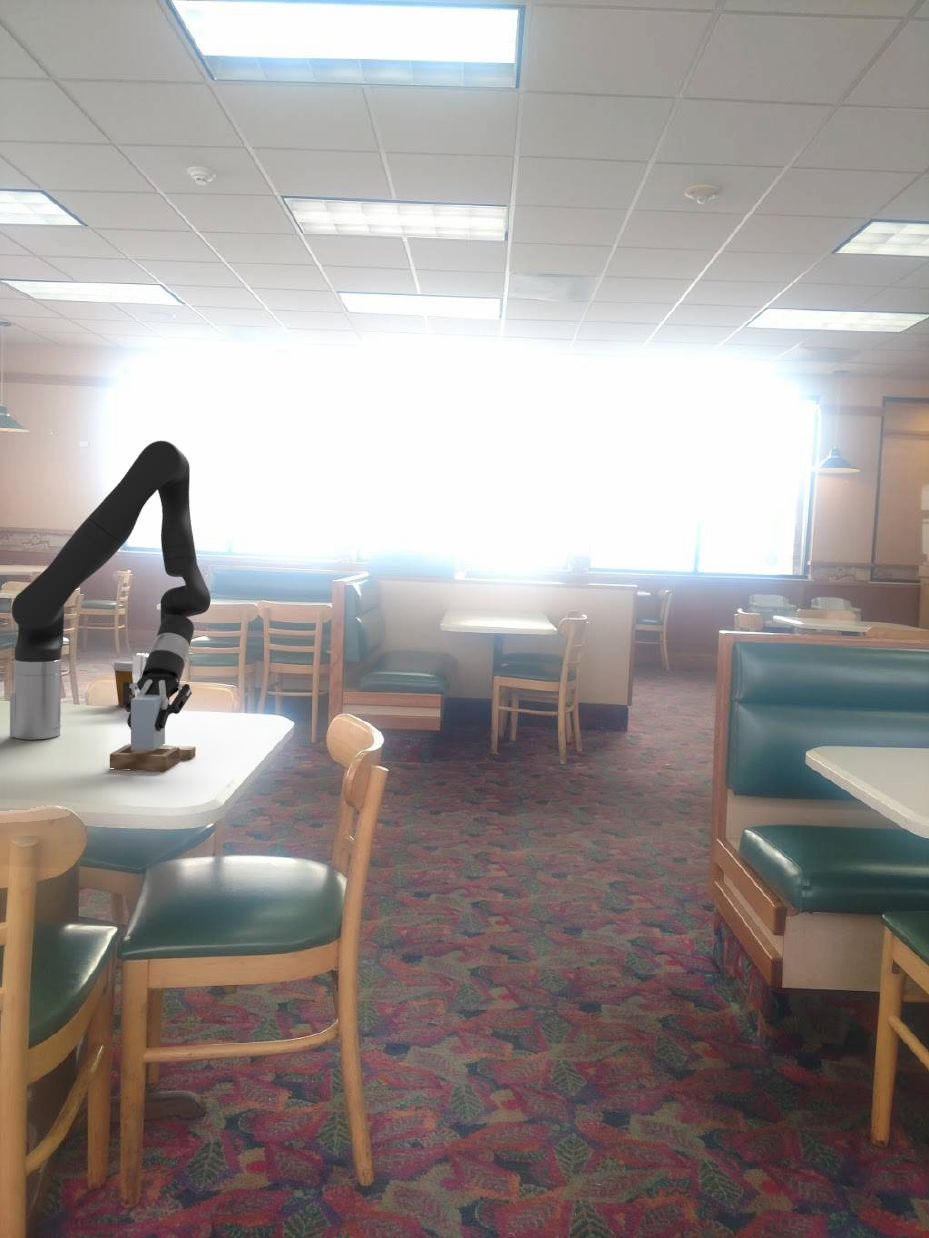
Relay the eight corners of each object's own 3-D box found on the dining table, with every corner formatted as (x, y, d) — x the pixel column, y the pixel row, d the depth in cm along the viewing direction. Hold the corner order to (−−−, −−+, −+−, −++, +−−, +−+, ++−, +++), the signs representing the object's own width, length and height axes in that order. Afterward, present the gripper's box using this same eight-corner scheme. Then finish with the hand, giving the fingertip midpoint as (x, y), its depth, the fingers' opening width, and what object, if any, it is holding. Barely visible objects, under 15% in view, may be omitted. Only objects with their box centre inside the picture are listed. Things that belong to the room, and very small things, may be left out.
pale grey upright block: (130, 749, 162) (131, 699, 161) (143, 742, 168) (143, 693, 168) (153, 750, 162) (154, 700, 161) (165, 742, 169) (165, 694, 168)
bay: (109, 769, 161) (109, 754, 160) (125, 759, 168) (125, 745, 168) (165, 771, 161) (166, 756, 161) (179, 762, 168) (179, 747, 168)
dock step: (122, 756, 171) (122, 746, 171) (128, 752, 174) (128, 743, 174) (190, 759, 171) (190, 749, 171) (195, 755, 174) (195, 746, 174)
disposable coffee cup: (141, 709, 220) (142, 664, 219) (105, 707, 220) (106, 662, 219) (155, 702, 230) (156, 660, 229) (121, 701, 230) (121, 658, 229)
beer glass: (164, 712, 217) (165, 655, 216) (138, 715, 212) (139, 657, 211) (152, 708, 222) (153, 652, 221) (126, 710, 217) (127, 654, 216)
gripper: (127, 647, 171) (102, 716, 160) (197, 649, 171) (176, 719, 160) (137, 669, 177) (114, 737, 166) (204, 671, 177) (185, 740, 166)
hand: (144, 728), depth 163 cm, fingers closed on pale grey upright block, 4 cm apart
